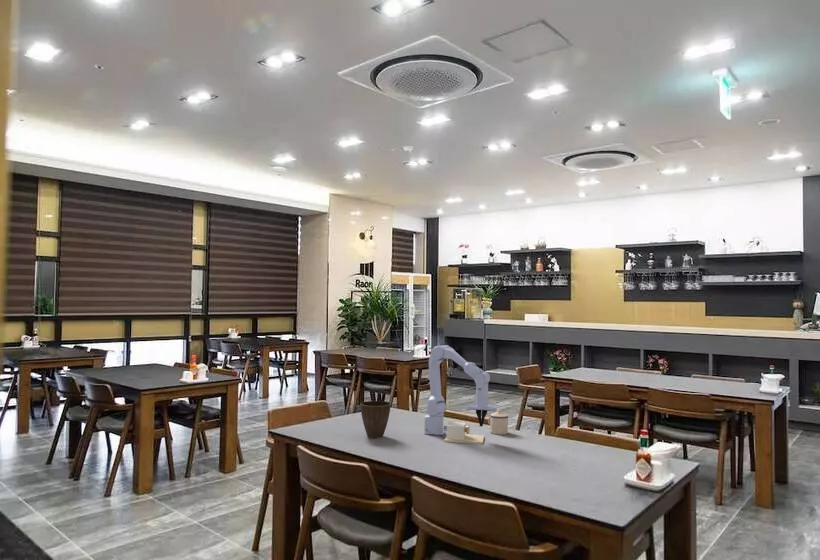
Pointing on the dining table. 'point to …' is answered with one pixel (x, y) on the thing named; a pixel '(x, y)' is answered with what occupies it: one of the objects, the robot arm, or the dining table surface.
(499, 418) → the teacup with lid
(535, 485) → the dining table surface
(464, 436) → the bearing block
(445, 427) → the shaft
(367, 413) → the plant pot
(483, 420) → the robot arm
